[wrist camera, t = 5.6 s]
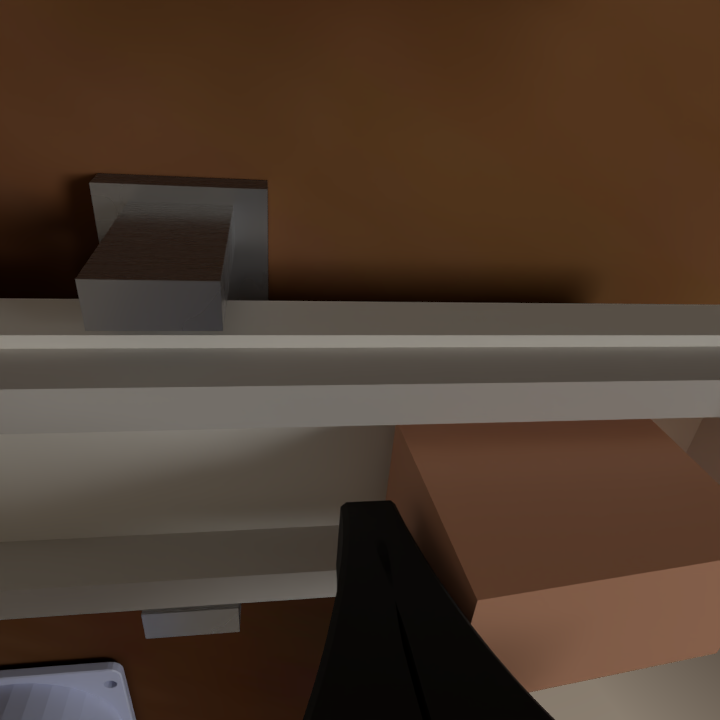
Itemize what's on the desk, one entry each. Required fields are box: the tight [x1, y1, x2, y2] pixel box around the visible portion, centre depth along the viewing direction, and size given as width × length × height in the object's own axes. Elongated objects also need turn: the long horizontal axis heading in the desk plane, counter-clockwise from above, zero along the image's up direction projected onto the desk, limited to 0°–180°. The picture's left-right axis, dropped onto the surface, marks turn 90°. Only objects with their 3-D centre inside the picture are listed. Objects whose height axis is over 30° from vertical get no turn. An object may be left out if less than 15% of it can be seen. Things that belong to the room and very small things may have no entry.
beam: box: [0, 298, 720, 620], centre depth 12 cm, size 33×8×5 cm, turn 86°
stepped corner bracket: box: [75, 173, 268, 639], centre depth 14 cm, size 31×11×5 cm, turn 86°
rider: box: [386, 419, 720, 692], centre depth 12 cm, size 6×3×5 cm, turn 86°
